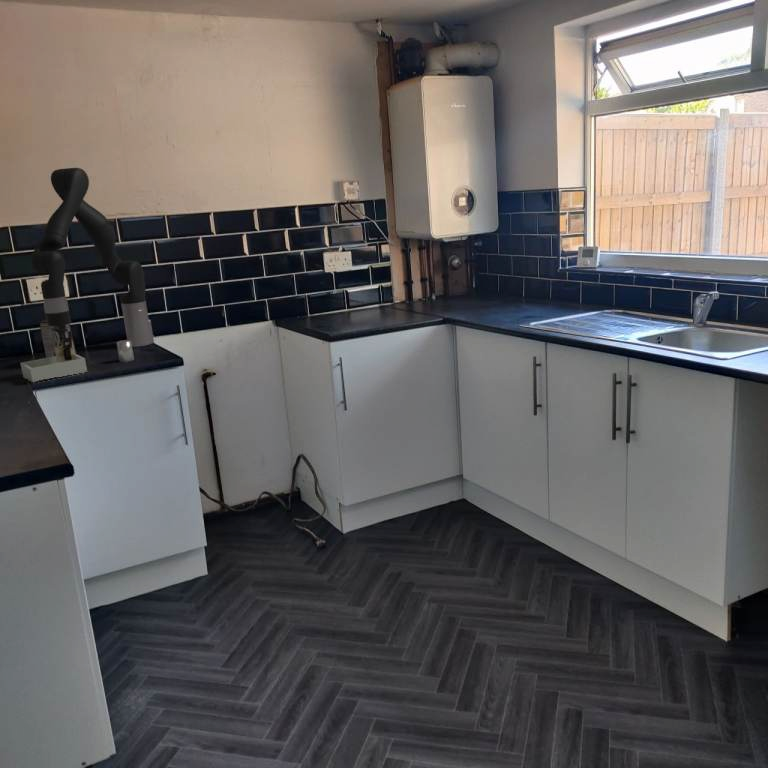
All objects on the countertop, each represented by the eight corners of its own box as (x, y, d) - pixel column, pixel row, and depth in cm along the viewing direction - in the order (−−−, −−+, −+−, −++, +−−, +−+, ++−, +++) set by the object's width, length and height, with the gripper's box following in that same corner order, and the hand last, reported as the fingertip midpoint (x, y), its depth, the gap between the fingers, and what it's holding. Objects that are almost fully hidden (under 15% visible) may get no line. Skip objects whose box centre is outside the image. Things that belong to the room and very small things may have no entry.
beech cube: (71, 358, 254) (69, 344, 253) (76, 360, 251) (73, 346, 249) (56, 361, 252) (54, 347, 250) (60, 363, 248) (58, 348, 246)
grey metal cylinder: (131, 357, 268) (128, 339, 266) (136, 359, 264) (133, 341, 262) (117, 360, 265) (114, 341, 263) (122, 362, 261) (119, 343, 259)
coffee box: (62, 358, 275) (54, 316, 271) (77, 358, 274) (69, 316, 270) (46, 364, 267) (38, 321, 262) (62, 364, 265) (54, 321, 261)
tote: (75, 366, 260) (73, 352, 259) (87, 372, 250) (84, 358, 248) (23, 376, 250) (20, 362, 248) (33, 383, 239) (30, 368, 238)
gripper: (74, 310, 243) (83, 359, 248) (62, 306, 254) (71, 354, 259) (51, 314, 239) (60, 364, 243) (39, 310, 250) (49, 358, 254)
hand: (66, 358), depth 251 cm, fingers closed on beech cube, 5 cm apart
